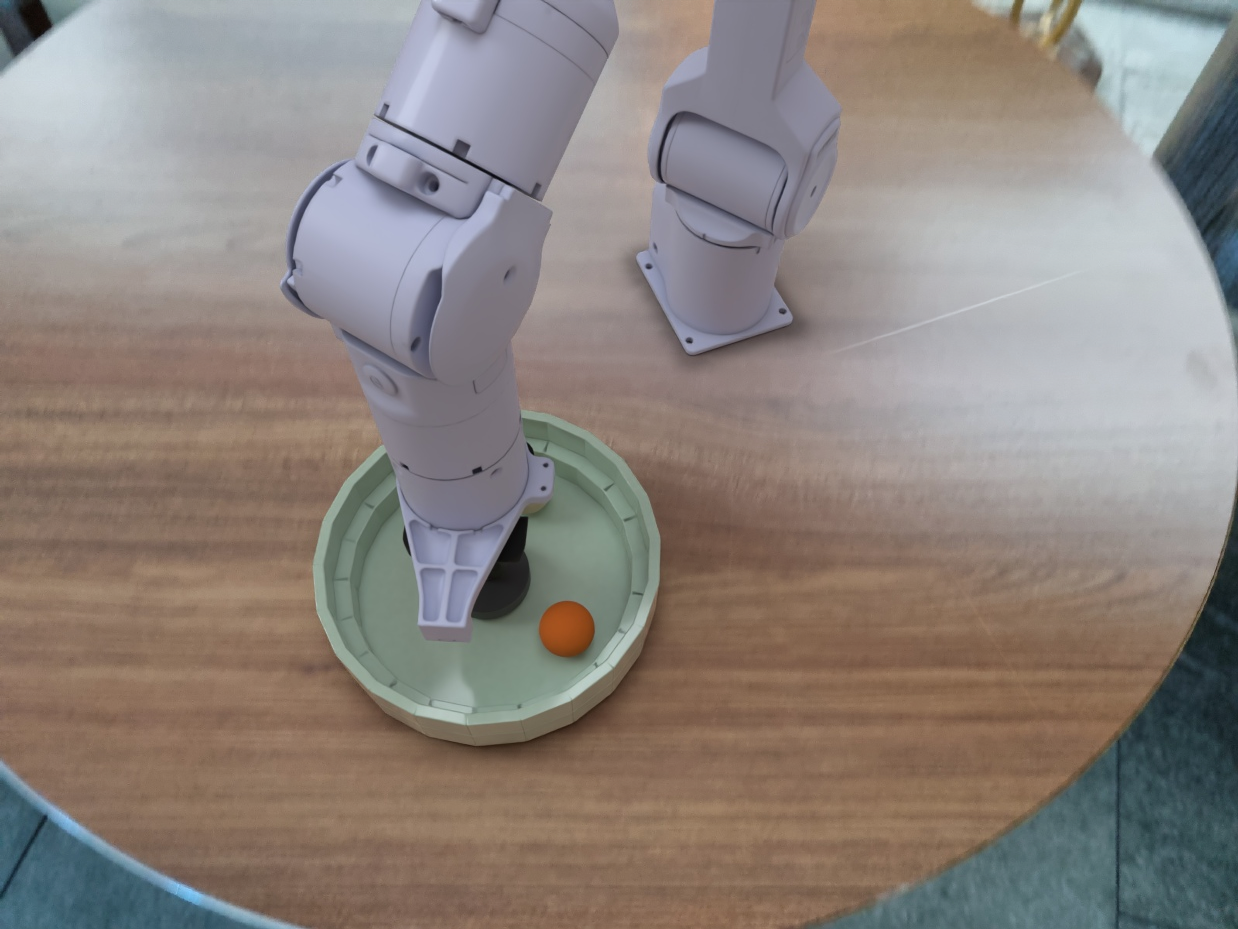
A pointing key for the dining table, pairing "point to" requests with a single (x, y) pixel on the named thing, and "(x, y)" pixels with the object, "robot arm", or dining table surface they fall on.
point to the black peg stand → (503, 591)
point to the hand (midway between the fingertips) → (485, 556)
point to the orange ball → (566, 628)
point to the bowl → (509, 645)
